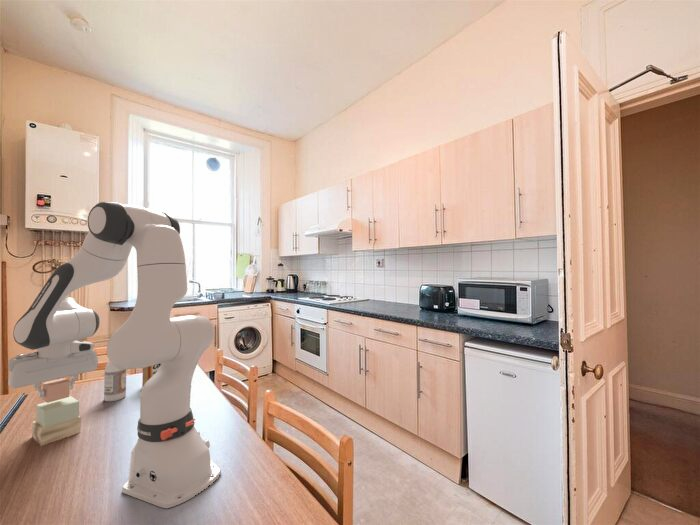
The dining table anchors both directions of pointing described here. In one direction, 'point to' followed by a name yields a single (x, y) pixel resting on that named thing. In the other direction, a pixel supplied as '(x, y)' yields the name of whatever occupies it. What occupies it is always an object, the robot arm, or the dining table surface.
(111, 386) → the bath foam
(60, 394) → the terracotta cube
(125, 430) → the dining table surface
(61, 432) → the birch base block
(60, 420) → the sage middle block
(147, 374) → the baking soda box
